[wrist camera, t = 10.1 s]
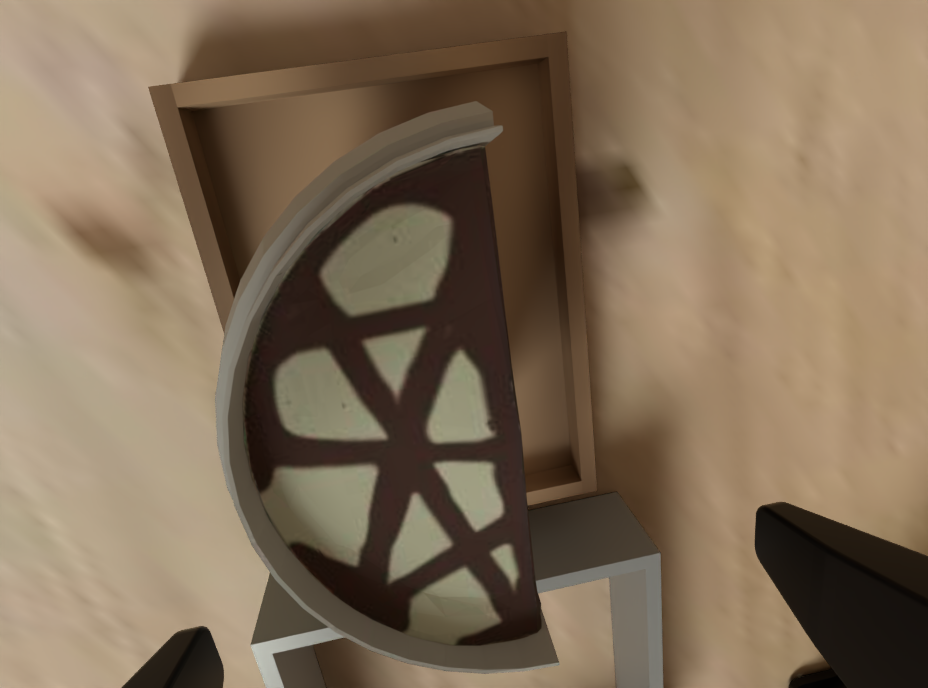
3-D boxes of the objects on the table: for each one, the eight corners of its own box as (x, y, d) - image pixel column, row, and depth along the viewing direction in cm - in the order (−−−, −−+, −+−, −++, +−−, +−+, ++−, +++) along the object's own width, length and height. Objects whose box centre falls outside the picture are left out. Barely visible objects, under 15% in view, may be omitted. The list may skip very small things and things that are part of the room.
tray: (546, 45, 18) (566, 31, 16) (580, 464, 23) (597, 490, 21) (174, 95, 17) (148, 86, 15) (299, 522, 22) (292, 555, 20)
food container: (241, 154, 17) (67, 145, 8) (435, 126, 17) (498, 86, 8) (328, 486, 21) (286, 749, 12) (483, 455, 22) (561, 682, 12)
